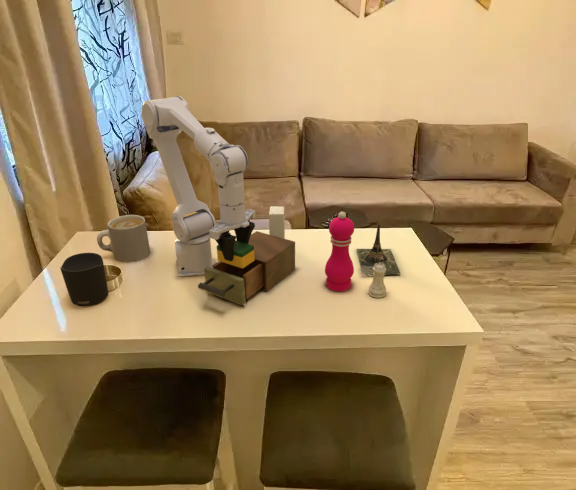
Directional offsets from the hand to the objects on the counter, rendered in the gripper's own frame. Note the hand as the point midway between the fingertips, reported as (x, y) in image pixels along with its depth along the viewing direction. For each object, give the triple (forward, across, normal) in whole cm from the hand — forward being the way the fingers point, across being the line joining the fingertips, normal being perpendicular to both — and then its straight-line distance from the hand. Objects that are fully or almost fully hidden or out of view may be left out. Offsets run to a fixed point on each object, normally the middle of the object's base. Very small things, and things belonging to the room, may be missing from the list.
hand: (235, 255), depth 115 cm
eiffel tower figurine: (+10, +32, -23) cm, 41 cm away
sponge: (+1, 0, 0) cm, 1 cm away
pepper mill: (+10, +16, -20) cm, 27 cm away
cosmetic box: (+10, +25, +5) cm, 28 cm away
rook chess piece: (+10, +17, -30) cm, 36 cm away
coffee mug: (+10, -1, +40) cm, 41 cm away
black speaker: (+10, -22, +29) cm, 38 cm away
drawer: (+9, -2, 0) cm, 9 cm away
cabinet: (+10, +10, 0) cm, 14 cm away
